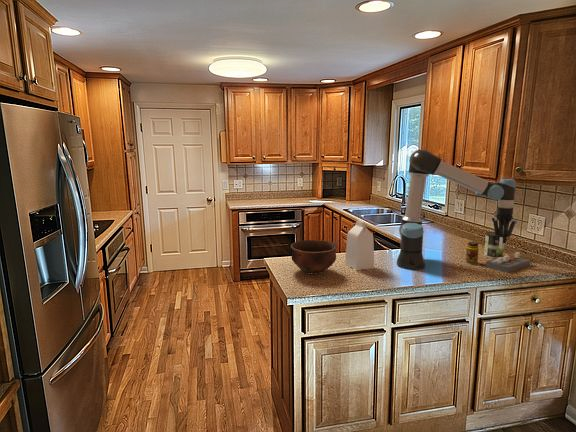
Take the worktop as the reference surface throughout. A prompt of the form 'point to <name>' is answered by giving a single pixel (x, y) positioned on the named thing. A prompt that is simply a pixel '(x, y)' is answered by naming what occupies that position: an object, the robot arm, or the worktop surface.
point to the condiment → (472, 254)
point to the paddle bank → (508, 258)
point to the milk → (360, 247)
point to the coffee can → (492, 246)
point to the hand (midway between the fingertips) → (501, 248)
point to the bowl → (313, 255)
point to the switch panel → (508, 264)
